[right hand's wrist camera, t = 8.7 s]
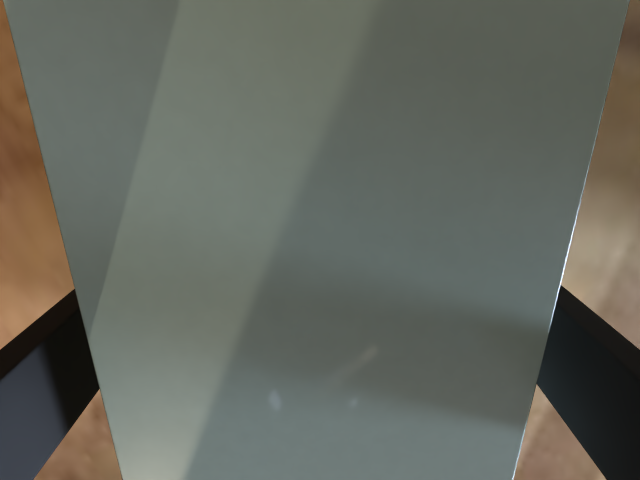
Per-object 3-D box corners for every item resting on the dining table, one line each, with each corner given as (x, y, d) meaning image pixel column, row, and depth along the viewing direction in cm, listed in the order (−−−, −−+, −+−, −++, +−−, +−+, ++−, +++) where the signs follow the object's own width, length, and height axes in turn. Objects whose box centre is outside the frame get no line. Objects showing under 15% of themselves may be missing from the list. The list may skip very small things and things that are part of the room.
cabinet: (151, -253, 12) (-283, -1134, 3) (484, -252, 12) (907, -1130, 3) (215, 326, 20) (131, 519, 11) (421, 326, 20) (504, 518, 11)
